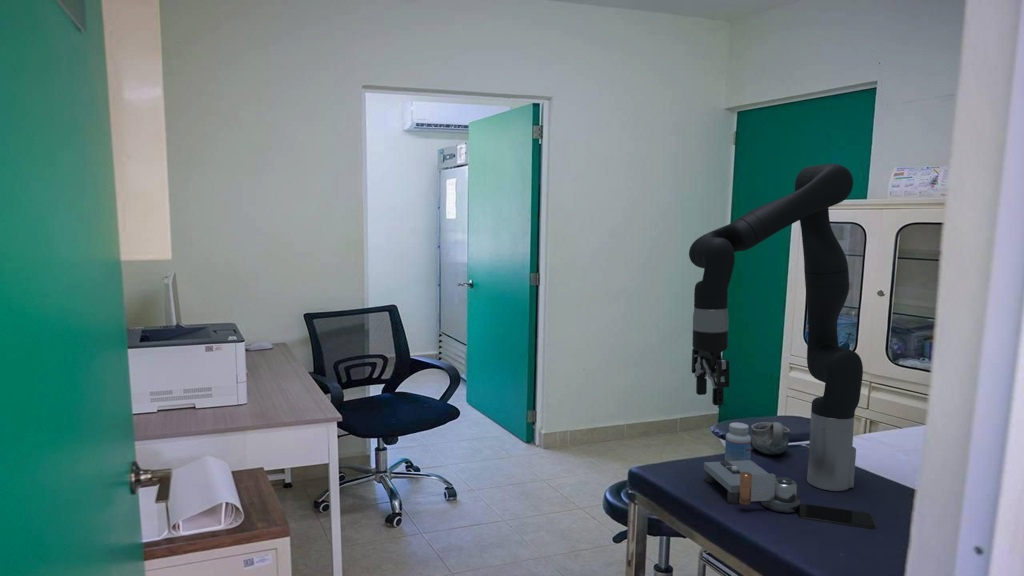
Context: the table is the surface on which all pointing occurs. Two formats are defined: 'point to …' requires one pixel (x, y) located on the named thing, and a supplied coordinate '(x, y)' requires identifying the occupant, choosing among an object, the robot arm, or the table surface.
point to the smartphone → (836, 516)
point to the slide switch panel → (730, 475)
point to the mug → (770, 437)
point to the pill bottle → (738, 443)
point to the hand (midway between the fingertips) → (709, 399)
